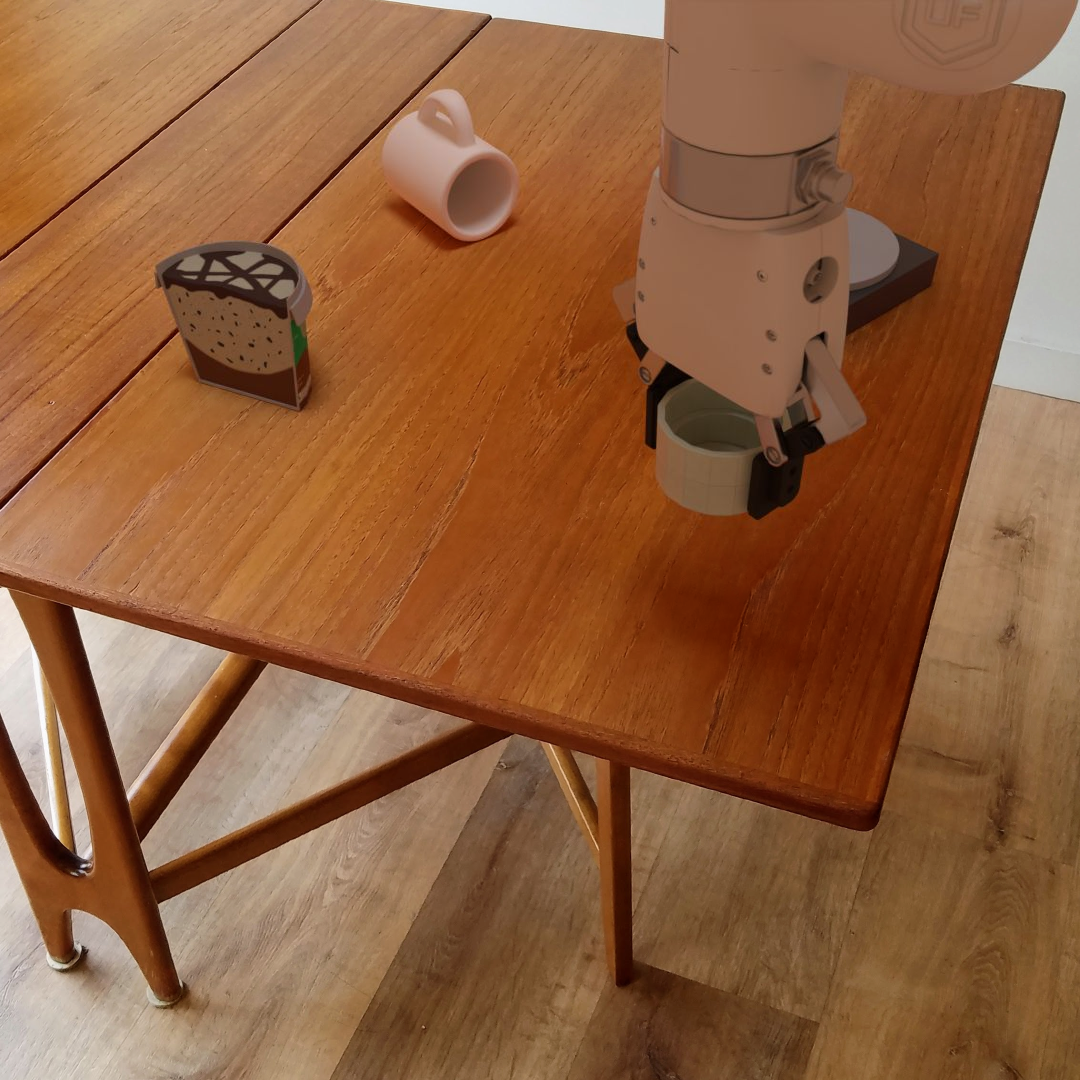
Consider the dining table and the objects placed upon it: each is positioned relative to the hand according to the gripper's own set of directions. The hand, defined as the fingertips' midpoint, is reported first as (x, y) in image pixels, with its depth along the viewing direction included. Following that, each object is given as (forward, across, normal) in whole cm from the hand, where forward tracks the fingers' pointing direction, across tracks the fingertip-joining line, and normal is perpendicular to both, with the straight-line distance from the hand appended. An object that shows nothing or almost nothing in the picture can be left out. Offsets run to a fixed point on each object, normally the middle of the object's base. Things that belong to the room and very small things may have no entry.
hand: (718, 468), depth 62 cm
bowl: (+1, 0, 0) cm, 1 cm away
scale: (+12, +21, -34) cm, 41 cm away
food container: (+12, +40, +7) cm, 42 cm away
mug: (+12, +50, -18) cm, 54 cm away
